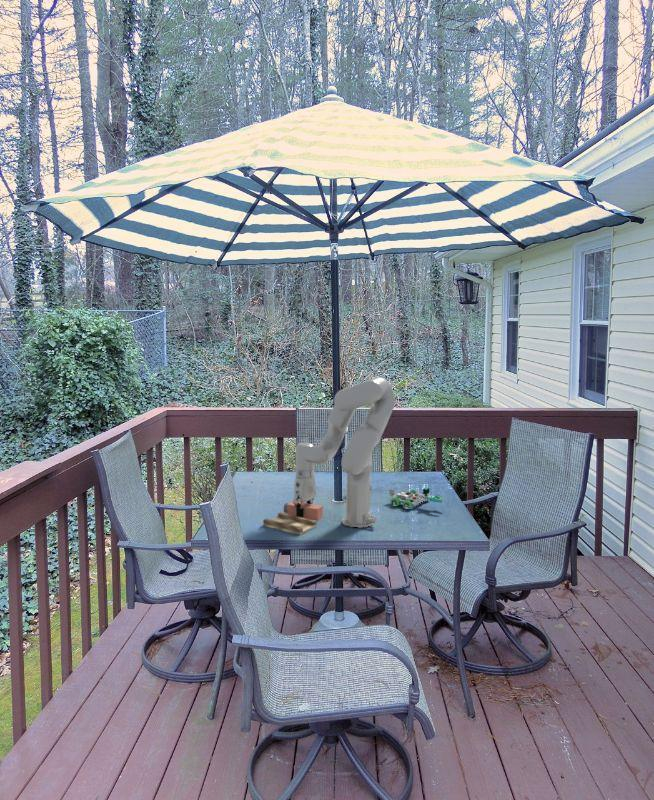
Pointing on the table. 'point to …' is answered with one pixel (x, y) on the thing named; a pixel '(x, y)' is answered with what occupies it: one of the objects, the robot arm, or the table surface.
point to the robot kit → (413, 497)
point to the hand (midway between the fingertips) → (304, 514)
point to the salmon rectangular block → (305, 510)
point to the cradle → (290, 523)
